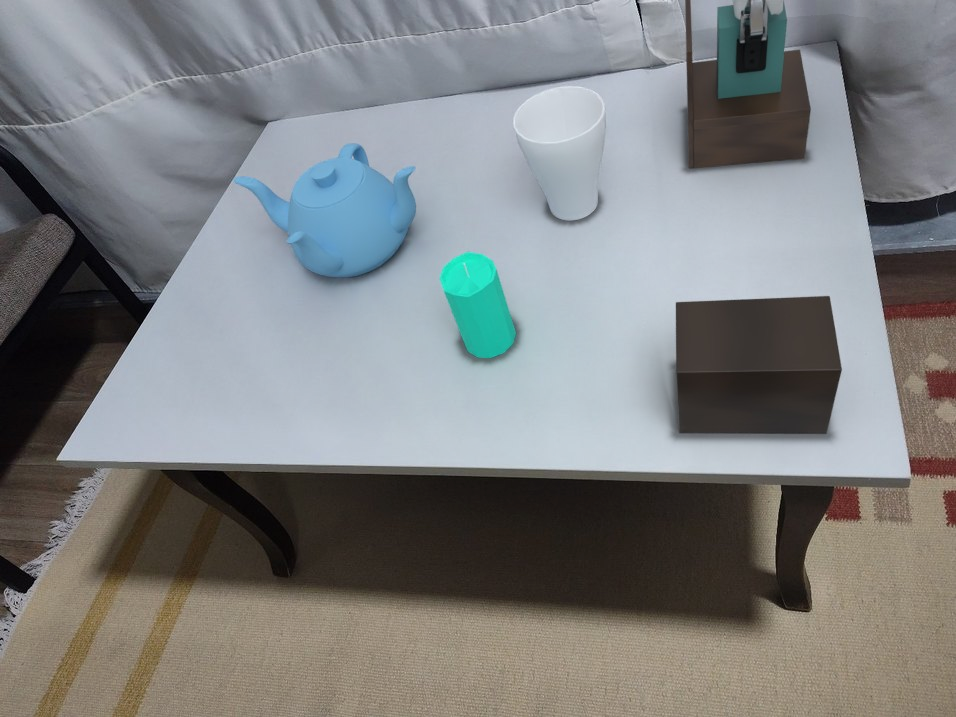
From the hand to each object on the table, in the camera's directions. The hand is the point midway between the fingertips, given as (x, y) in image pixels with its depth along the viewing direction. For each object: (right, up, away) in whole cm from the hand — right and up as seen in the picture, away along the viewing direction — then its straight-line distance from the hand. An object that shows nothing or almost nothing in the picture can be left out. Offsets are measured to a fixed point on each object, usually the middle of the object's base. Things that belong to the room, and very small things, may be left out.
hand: (749, 55), depth 88 cm
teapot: (-48, -20, +13) cm, 54 cm away
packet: (+1, -2, +3) cm, 4 cm away
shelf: (+2, -6, +8) cm, 11 cm away
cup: (-19, -16, +8) cm, 26 cm away
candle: (-30, -33, -2) cm, 45 cm away
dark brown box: (-5, -39, -15) cm, 42 cm away
